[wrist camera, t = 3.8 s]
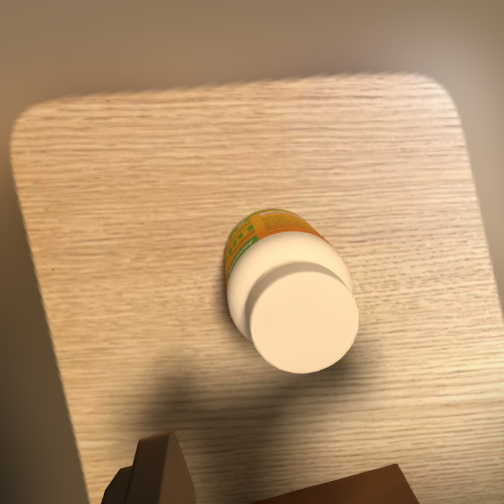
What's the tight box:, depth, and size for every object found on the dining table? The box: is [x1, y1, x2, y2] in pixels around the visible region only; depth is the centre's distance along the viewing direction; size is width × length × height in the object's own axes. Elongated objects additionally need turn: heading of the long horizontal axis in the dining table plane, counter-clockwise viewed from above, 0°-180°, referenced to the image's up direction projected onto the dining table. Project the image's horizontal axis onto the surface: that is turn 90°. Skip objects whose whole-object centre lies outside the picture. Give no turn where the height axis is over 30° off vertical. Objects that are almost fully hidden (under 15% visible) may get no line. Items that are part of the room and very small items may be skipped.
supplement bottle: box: [224, 208, 359, 373], centre depth 19 cm, size 5×5×10 cm
